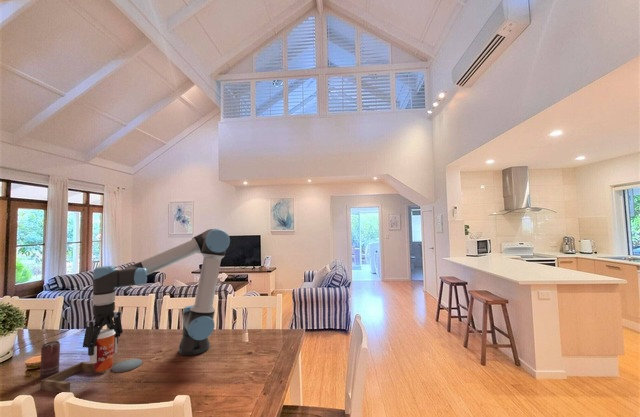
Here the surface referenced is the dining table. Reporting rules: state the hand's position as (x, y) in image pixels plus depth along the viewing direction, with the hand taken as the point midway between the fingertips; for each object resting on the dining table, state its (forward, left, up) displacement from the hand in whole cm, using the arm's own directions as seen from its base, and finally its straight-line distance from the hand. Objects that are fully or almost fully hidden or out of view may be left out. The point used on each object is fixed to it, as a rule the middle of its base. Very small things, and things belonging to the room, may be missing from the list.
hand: (103, 357), depth 120 cm
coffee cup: (0, 0, -5) cm, 5 cm away
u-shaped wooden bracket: (+14, 0, -11) cm, 18 cm away
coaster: (+3, -15, -11) cm, 18 cm away
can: (+30, -1, -11) cm, 32 cm away
